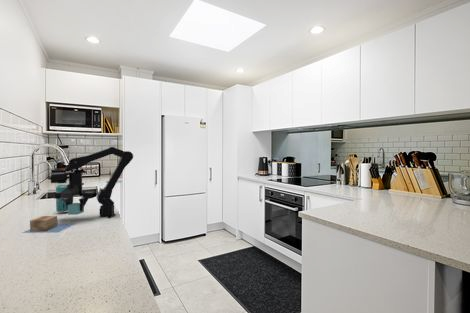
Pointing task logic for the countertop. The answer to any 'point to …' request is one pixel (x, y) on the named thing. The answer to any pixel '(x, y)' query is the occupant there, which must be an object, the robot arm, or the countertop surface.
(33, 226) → the walnut base block
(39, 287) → the countertop surface
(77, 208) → the teal cube
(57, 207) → the beverage bottle
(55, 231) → the blue flat board
